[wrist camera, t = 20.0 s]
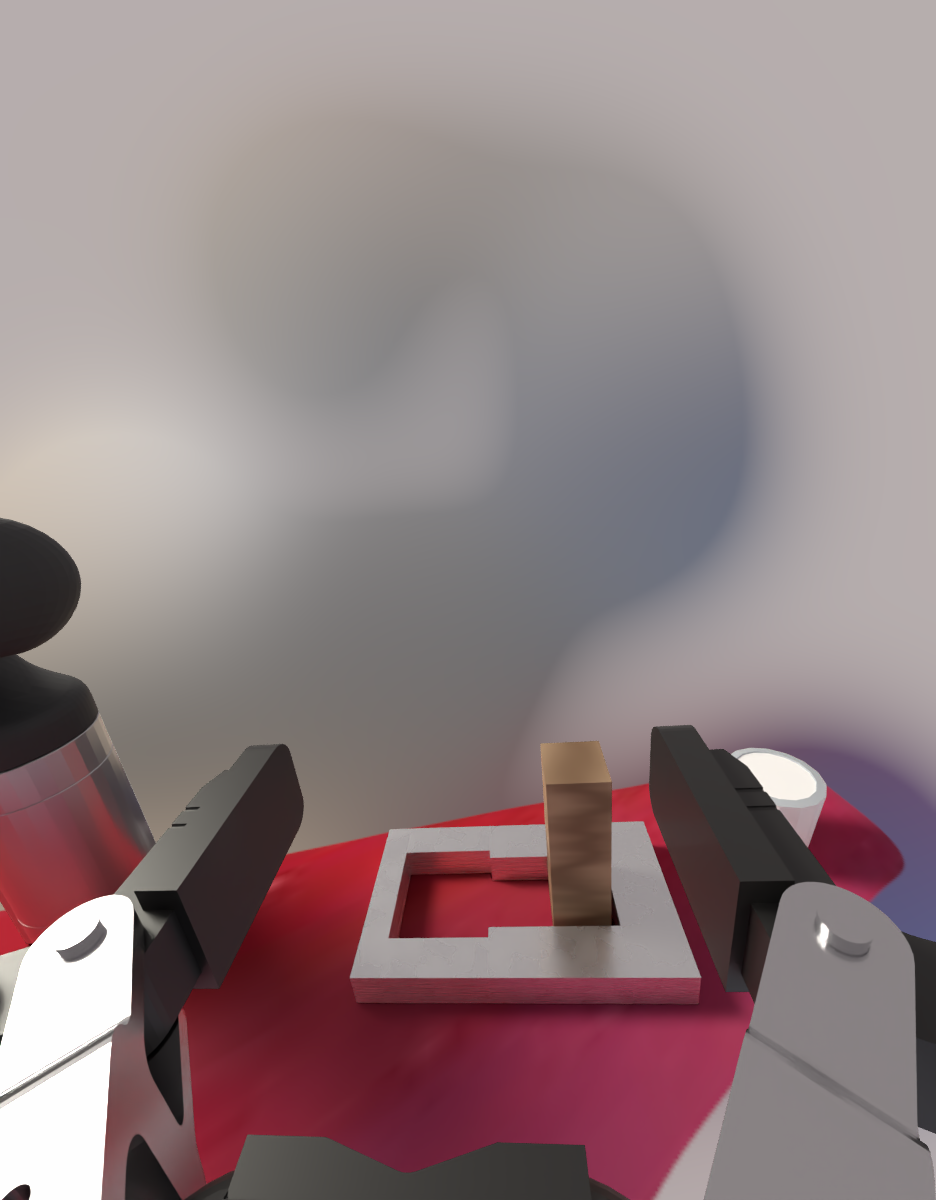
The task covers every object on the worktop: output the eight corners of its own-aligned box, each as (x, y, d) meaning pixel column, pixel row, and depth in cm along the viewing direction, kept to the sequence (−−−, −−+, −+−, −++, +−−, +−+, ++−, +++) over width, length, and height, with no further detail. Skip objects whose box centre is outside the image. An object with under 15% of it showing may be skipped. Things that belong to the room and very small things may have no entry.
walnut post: (554, 940, 34) (545, 784, 29) (549, 888, 37) (540, 743, 33) (611, 939, 33) (611, 782, 28) (599, 887, 37) (598, 740, 32)
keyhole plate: (356, 1002, 31) (349, 978, 30) (394, 850, 42) (389, 829, 42) (698, 1004, 29) (701, 977, 28) (642, 843, 40) (643, 821, 39)
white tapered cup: (704, 812, 43) (709, 749, 41) (781, 807, 42) (791, 743, 40) (743, 879, 36) (752, 809, 34) (834, 875, 36) (850, 803, 34)
